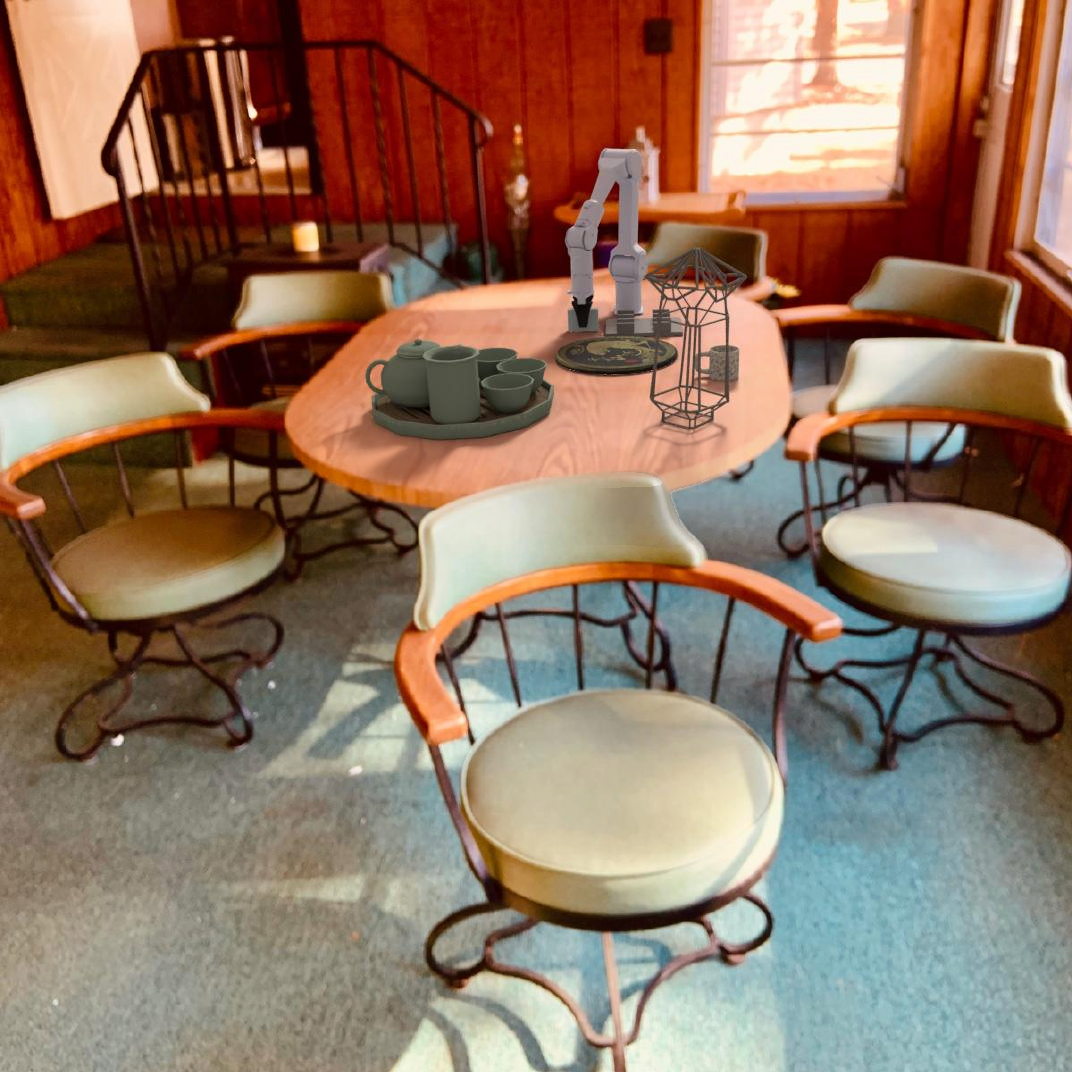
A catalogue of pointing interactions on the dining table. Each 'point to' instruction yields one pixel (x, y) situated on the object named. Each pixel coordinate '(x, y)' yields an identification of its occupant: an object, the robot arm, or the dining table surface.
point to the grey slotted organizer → (642, 325)
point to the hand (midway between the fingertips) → (583, 324)
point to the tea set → (458, 391)
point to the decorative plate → (615, 355)
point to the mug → (720, 363)
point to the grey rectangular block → (592, 321)
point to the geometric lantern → (682, 267)
